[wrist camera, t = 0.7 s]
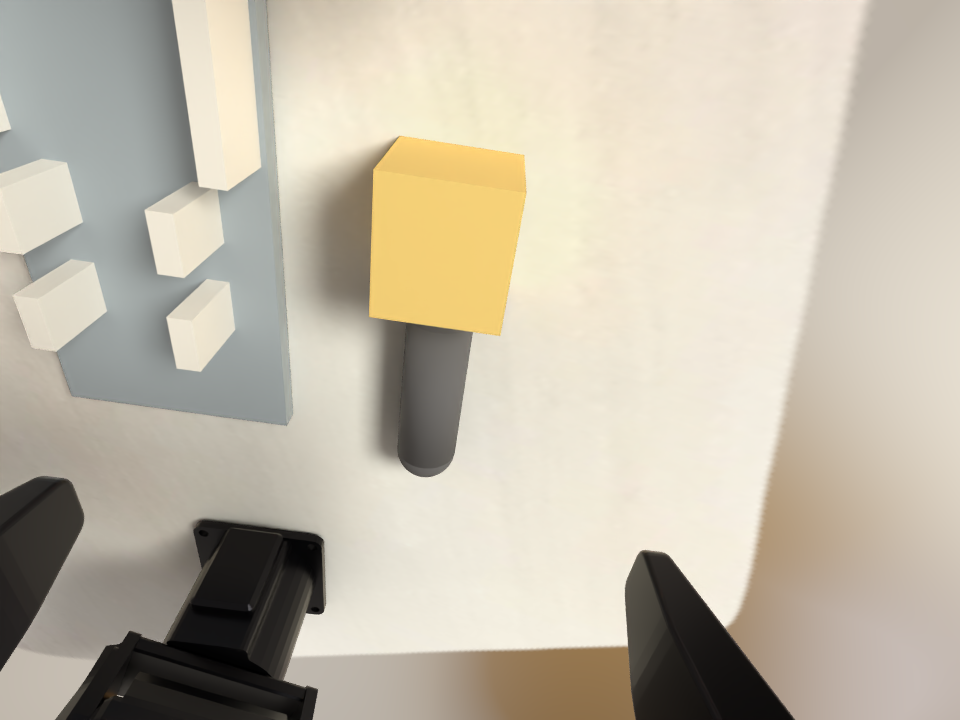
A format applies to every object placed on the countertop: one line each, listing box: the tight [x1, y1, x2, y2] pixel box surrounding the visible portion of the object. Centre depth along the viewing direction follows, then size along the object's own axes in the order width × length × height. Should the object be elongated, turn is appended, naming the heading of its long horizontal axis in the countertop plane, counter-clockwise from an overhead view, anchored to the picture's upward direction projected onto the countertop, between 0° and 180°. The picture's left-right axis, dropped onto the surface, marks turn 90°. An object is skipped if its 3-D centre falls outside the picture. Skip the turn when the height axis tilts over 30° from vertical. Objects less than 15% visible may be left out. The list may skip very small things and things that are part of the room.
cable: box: [369, 136, 526, 477], centre depth 20 cm, size 13×4×4 cm, turn 172°
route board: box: [0, 0, 293, 426], centre depth 18 cm, size 18×9×4 cm, turn 172°
